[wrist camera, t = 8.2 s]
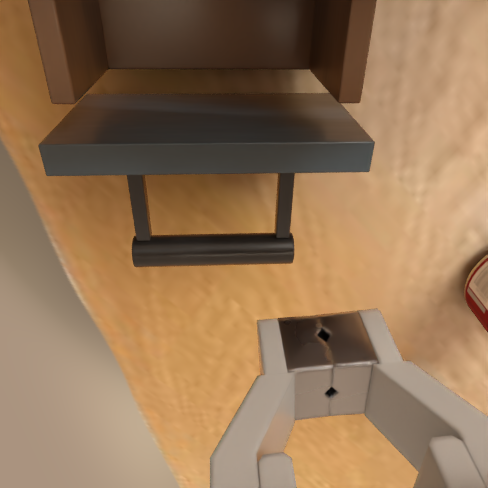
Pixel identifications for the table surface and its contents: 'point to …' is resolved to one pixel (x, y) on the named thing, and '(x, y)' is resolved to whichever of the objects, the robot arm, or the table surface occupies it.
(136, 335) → the table surface
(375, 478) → the table surface
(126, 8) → the drawer
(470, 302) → the soda can
